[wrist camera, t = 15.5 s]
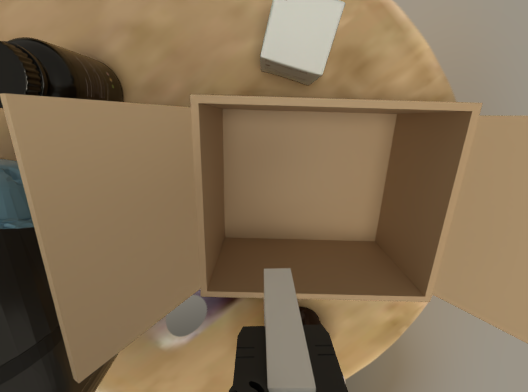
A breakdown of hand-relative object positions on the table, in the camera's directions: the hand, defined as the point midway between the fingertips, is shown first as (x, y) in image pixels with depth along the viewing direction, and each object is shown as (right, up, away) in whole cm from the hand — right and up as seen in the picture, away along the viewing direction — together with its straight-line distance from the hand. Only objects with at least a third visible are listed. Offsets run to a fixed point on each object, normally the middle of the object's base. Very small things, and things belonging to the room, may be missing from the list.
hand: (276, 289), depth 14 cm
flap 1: (-9, +3, +3) cm, 10 cm away
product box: (+3, +22, +15) cm, 26 cm away
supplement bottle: (-21, +18, +16) cm, 32 cm away
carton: (+5, +7, +19) cm, 21 cm away
